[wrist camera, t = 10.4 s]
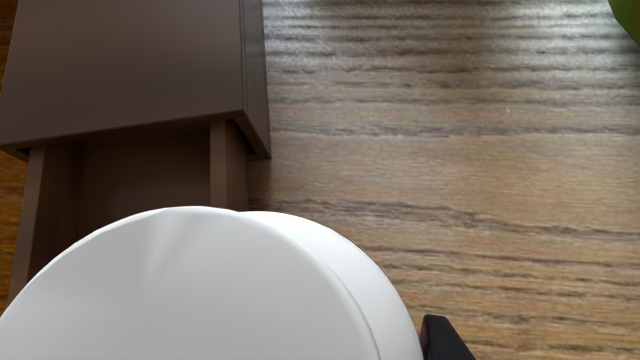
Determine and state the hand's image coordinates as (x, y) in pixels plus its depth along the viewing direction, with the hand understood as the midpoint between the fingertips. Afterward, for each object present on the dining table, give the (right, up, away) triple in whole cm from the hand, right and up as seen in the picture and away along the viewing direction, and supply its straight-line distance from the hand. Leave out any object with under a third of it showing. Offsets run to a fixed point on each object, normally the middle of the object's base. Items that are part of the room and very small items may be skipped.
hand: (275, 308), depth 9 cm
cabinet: (-9, +12, +19) cm, 24 cm away
